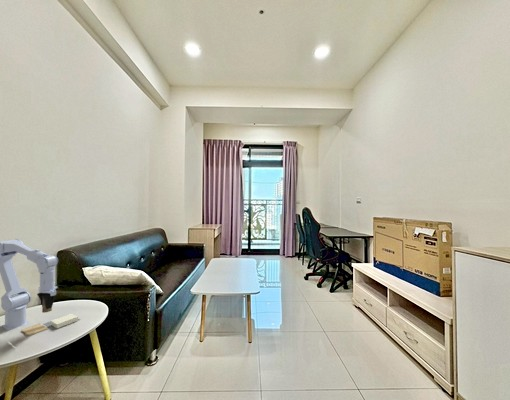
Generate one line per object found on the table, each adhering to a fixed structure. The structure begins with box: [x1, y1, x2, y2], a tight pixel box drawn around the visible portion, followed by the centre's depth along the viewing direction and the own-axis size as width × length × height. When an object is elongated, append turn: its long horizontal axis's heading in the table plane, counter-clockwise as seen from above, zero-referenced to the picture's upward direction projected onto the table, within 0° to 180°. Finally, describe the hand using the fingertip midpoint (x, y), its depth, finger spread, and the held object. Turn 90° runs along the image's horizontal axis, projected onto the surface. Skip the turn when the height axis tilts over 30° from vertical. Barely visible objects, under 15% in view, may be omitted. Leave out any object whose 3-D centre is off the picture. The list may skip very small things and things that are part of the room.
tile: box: [50, 313, 79, 329], centre depth 123 cm, size 2×9×7 cm
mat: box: [42, 318, 81, 331], centre depth 125 cm, size 12×12×1 cm
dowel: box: [41, 299, 53, 314], centre depth 120 cm, size 4×4×7 cm
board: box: [21, 323, 48, 337], centre depth 117 cm, size 9×7×1 cm
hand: (47, 307), depth 120 cm, fingers closed on dowel, 4 cm apart
